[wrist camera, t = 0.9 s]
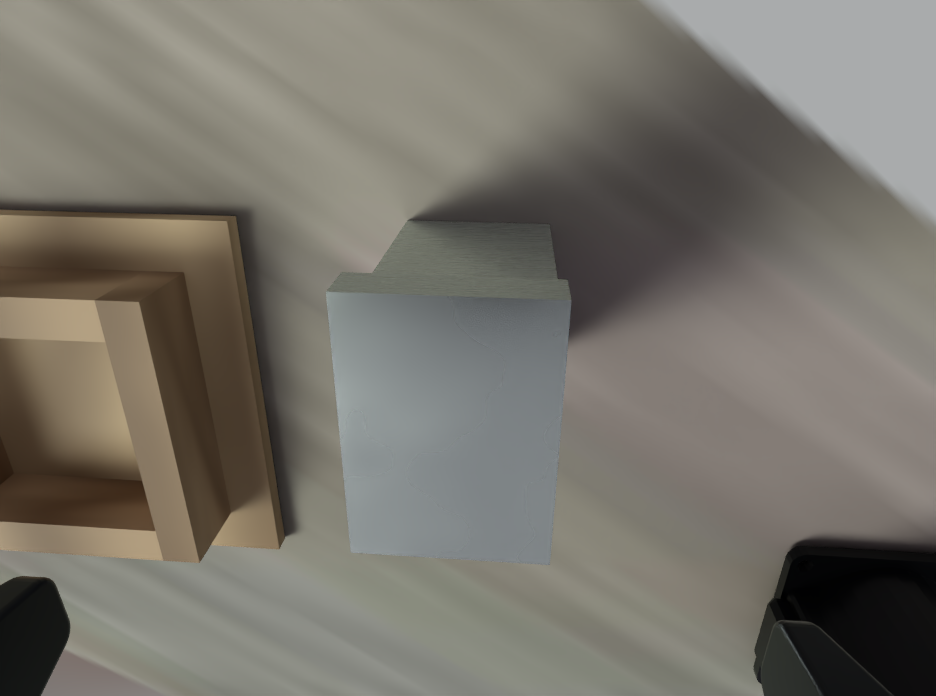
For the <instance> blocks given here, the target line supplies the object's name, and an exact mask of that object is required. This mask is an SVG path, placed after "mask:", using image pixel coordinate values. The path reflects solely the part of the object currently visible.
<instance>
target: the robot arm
mask: <svg viewBox="0 0 936 696" xmlns="http://www.w3.org/2000/svg"><path fill="white" fill-rule="evenodd" d="M805 560H807V561H805ZM802 561H805V562H803V563H800V562H802ZM69 634H70V621H69V618H68V615H67V612H66V610H65V607H64V605H63V602H62V599H61V597H60V594H59V592H58V589H57V587H56V585H55V583H54V582H53V581H52V580H51V579H49V578H46V577H29V576H21V577H16V578H13V579H11V580H9V581H7V582H5V583H4V584H2V585H0V696H41V694H42V692H43V690H44V688H45V686H46V684H47V682H48V680H49V678H50V676H51V674H52V672H53V670H54V668H55V666H56V664H57V662H58V660H59V657H60V656H61V654H62V652H63V650H64V648H65V646H66V643H67V641H68V638H69ZM755 654H756V660H755V663H754V672H755V675H756V678H757V680H758V682H759V683H761V684H762V688H763V693H764V696H936V554H927V553H910V552H893V551H876V550H860V549H843V548H826V547H810V546H800V547H796V548H794V549H792V550H791V551H789V552H788V554H787V555H786V558H785V561H784V565H783V568H782V571H781V575H780V578H779V582H778V585H777V588H776V592H775V595H774V598H772V600H771V601H770V602H769V603H768V605H767V608H766V612H765V615H764V619H763V622H762V626H761V629H760V633H759V636H758V639H757V643H756V646H755Z"/></svg>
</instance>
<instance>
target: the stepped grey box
mask: <svg viewBox="0 0 936 696" xmlns="http://www.w3.org/2000/svg"><path fill="white" fill-rule="evenodd" d="M326 298H327V309H328V319H329V329H330V340H331V350H332V361H333V371H334V382H335V392H336V403H337V413H338V424H339V434H340V445H341V455H342V466H343V476H344V486H345V497H346V507H347V518H348V528H349V539H350V549H351V552H352V553H368V554H384V555H400V556H416V557H432V558H448V559H464V560H480V561H496V562H512V563H528V564H544V565H550V555H551V543H552V531H553V519H554V507H555V494H556V482H557V470H558V458H559V446H560V434H561V422H562V410H563V398H564V386H565V373H566V361H567V349H568V337H569V325H570V313H571V301H572V300H571V295H570V290H569V284H568V280H564V279H558V277H557V271H556V264H555V257H554V251H553V244H552V238H551V231H550V224H530V223H492V222H454V221H416V220H408V221H407V222H406V223H405V225H404V226H403V228H402V229H401V231H400V232H399V234H398V235H397V237H396V238H395V240H394V241H393V243H392V244H391V246H390V247H389V249H388V250H387V252H386V253H385V255H384V256H383V258H382V259H381V261H380V262H379V264H378V265H377V267H376V268H375V270H374V271H373V273H347V272H342V273H341V274H340V275H339V276H338V277H337V279H336V280H335V281H334V282H333V284H332V285H331V286H330V287H329V289H328V290H327V291H326Z"/></svg>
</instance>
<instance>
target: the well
mask: <svg viewBox="0 0 936 696" xmlns="http://www.w3.org/2000/svg"><path fill="white" fill-rule="evenodd" d="M284 539H285V535H284V528H283V522H282V515H281V509H280V502H279V496H278V489H277V483H276V476H275V469H274V463H273V456H272V450H271V443H270V437H269V430H268V424H267V417H266V410H265V404H264V397H263V391H262V384H261V378H260V371H259V365H258V358H257V351H256V345H255V338H254V332H253V325H252V319H251V312H250V306H249V299H248V292H247V286H246V279H245V273H244V266H243V260H242V253H241V247H240V240H239V233H238V227H237V220H236V216H215V215H178V214H140V213H103V212H65V211H28V210H0V550H12V551H27V552H42V553H57V554H72V555H88V556H103V557H118V558H133V559H148V560H163V561H178V562H194V563H200V561H201V560H202V558H203V557H204V555H205V554H206V552H207V550H208V549H209V547H210V546H211V545H220V546H235V547H251V548H267V549H280V547H281V545H282V543H283V541H284Z"/></svg>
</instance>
